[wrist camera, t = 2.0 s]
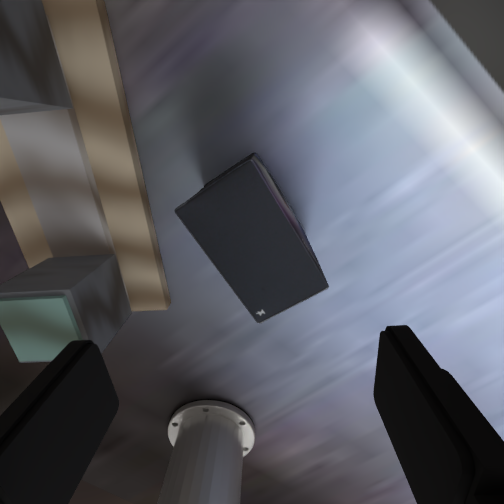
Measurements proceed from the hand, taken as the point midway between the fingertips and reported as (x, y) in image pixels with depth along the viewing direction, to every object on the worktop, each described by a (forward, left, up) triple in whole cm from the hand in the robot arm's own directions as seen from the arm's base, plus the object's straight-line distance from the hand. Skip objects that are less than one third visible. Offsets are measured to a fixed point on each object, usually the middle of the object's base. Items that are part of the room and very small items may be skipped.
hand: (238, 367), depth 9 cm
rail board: (+4, +18, -20) cm, 27 cm away
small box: (0, 0, -21) cm, 21 cm away
